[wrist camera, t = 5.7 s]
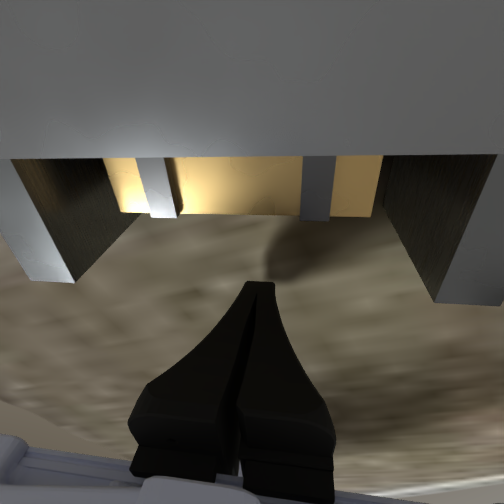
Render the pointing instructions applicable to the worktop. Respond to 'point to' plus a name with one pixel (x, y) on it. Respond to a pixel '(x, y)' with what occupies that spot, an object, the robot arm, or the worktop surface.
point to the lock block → (247, 185)
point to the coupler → (256, 115)
